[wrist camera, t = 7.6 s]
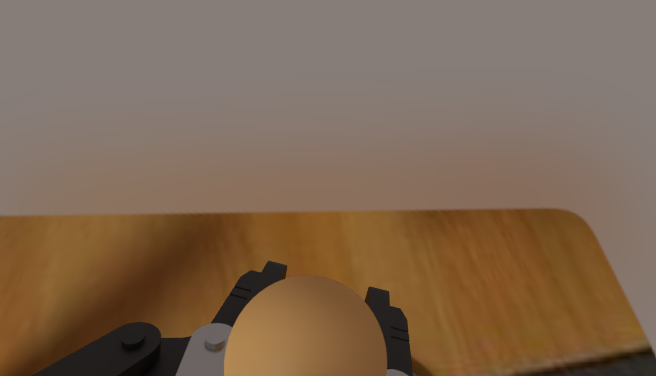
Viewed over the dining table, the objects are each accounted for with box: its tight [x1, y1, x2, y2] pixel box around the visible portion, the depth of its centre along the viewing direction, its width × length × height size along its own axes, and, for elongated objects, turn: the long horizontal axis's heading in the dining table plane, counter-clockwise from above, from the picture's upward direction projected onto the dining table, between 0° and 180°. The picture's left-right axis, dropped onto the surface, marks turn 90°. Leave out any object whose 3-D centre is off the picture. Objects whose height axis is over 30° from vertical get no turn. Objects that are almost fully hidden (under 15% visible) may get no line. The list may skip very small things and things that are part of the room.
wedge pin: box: [224, 275, 387, 376], centre depth 12 cm, size 3×3×10 cm
